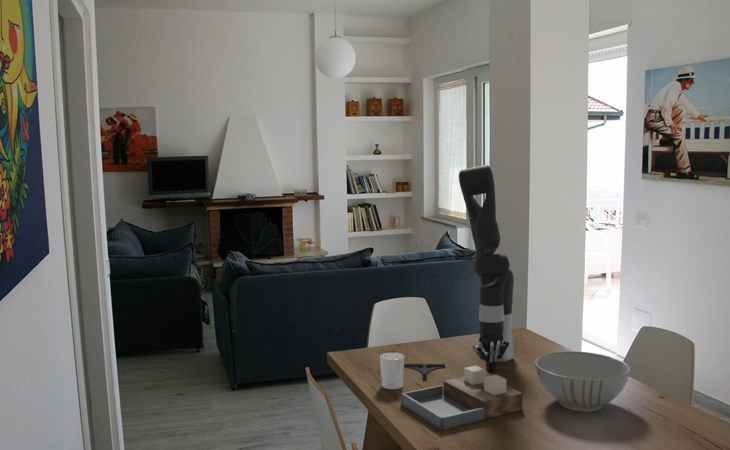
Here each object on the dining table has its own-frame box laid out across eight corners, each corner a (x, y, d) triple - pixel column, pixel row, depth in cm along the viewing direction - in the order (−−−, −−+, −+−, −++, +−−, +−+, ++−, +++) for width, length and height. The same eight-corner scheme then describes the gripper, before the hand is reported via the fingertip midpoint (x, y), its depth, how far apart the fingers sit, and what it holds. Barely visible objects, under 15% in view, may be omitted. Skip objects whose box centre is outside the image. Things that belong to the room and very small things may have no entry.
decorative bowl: (581, 429, 176) (582, 386, 174) (515, 397, 199) (515, 359, 198) (650, 410, 188) (651, 369, 187) (580, 382, 211) (580, 346, 210)
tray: (441, 395, 202) (441, 385, 201) (484, 420, 183) (484, 408, 182) (401, 404, 195) (401, 393, 195) (441, 430, 176) (441, 418, 176)
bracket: (403, 381, 217) (403, 373, 217) (404, 367, 232) (404, 359, 231) (446, 382, 216) (446, 374, 215) (444, 368, 231) (445, 360, 230)
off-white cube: (496, 387, 194) (496, 374, 194) (506, 392, 190) (506, 379, 190) (484, 390, 192) (484, 377, 192) (493, 395, 188) (493, 381, 188)
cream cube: (475, 377, 203) (475, 365, 202) (484, 382, 199) (484, 369, 198) (464, 380, 201) (464, 367, 200) (472, 384, 197) (472, 371, 196)
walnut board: (480, 388, 207) (480, 373, 207) (522, 409, 190) (522, 393, 189) (443, 396, 201) (443, 380, 201) (483, 419, 183) (483, 401, 183)
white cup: (407, 383, 214) (407, 353, 213) (400, 391, 206) (400, 360, 205) (384, 380, 216) (384, 351, 215) (377, 388, 209) (376, 358, 208)
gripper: (500, 313, 207) (500, 366, 209) (466, 318, 201) (466, 373, 203) (516, 318, 200) (515, 373, 202) (481, 323, 194) (481, 380, 196)
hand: (491, 373), depth 202 cm, fingers closed
